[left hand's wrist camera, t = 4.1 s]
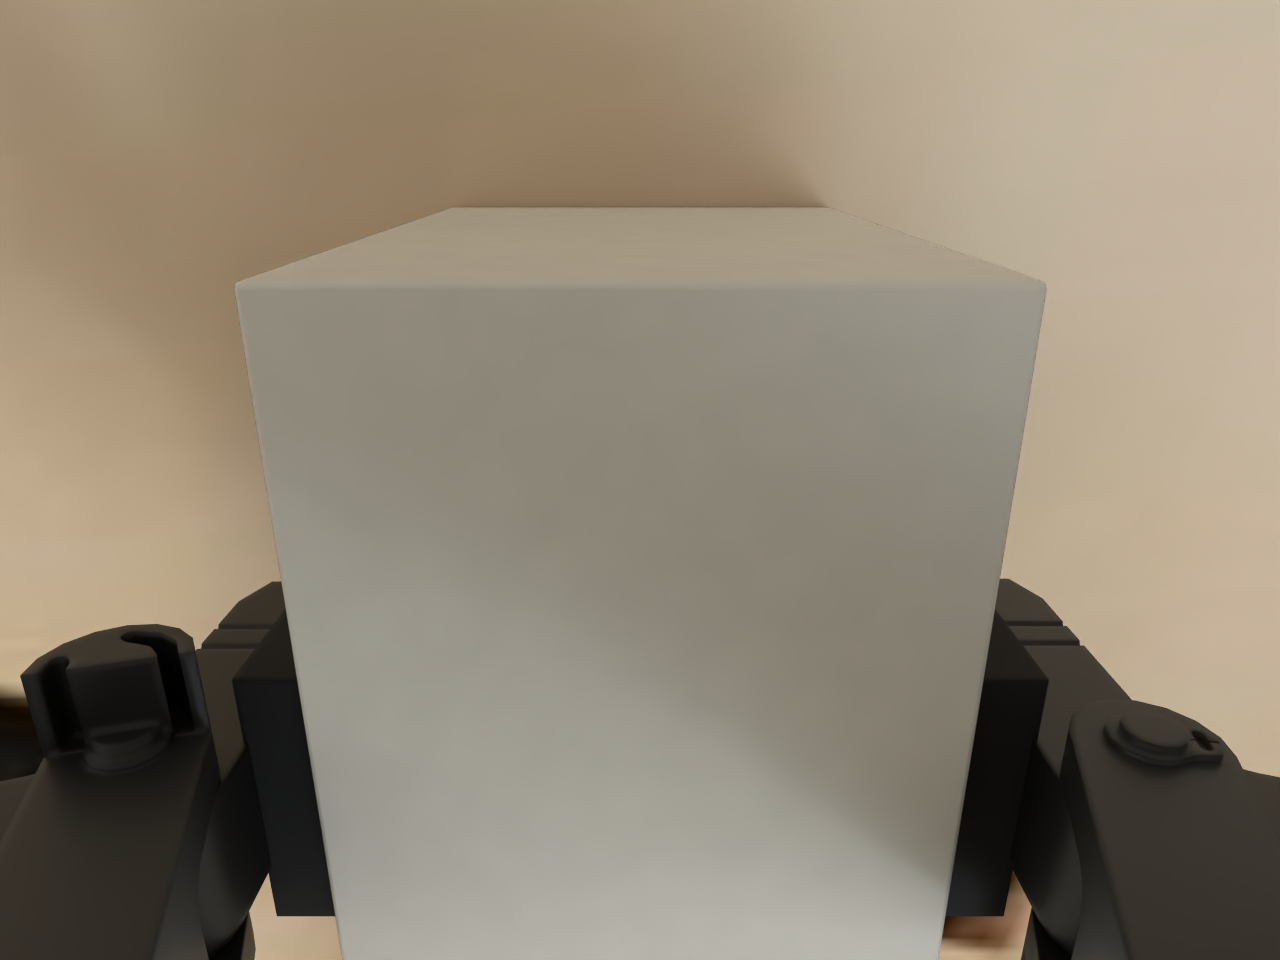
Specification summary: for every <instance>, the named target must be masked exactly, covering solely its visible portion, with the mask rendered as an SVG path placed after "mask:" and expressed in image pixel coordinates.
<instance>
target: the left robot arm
mask: <svg viewBox="0 0 1280 960" xmlns="http://www.w3.org/2000/svg"><path fill="white" fill-rule="evenodd" d="M1079 642H1080V641H1079V640H1078V638H1077V637H1076V636H1075V635H1074V634H1073V633H1072V632H1071V630H1070V629H1069V628H1068V627H1067V626H1063V621H1062V620H1061V619H1060V618H1059V617H1058V616H1057V615H1056V613H1055V612H1054V611H1053V610H1052V609H1051V608H1050V607H1049V605H1048V604H1047V603H1046V602H1045V601H1044V600H1043V599H1042V598H1041V597H1039V596H1037V595H1035V594H1034V593H1032V592H1030V591H1029V590H1027V589H1025V588H1023V587H1022V586H1020V585H1018V584H1017V583H1015V582H1013V581H1011V580H1010V579H1000V580H999V586H998V593H997V599H996V605H995V611H994V617H993V624H992V630H991V636H990V642H989V648H988V654H987V661H986V667H985V673H984V679H983V685H982V692H981V698H980V704H979V710H978V716H977V723H976V729H975V735H974V741H973V747H972V754H971V760H970V766H969V772H968V778H967V784H966V791H965V797H964V803H963V809H962V815H961V822H960V828H959V834H958V840H957V846H956V853H955V859H954V865H953V871H952V877H951V884H950V890H949V896H948V902H947V908H946V915H945V916H1004V911H1005V906H1006V901H1007V896H1008V891H1009V885H1010V880H1011V875H1012V870H1013V871H1014V873H1015V875H1016V876H1017V878H1018V880H1019V882H1020V884H1021V886H1022V888H1023V890H1024V892H1025V894H1026V896H1027V898H1028V900H1029V902H1030V904H1031V906H1032V909H1031V913H1030V918H1029V923H1028V928H1027V933H1026V938H1025V942H1024V947H1023V952H1022V957H1021V960H1280V777H1275V776H1270V775H1265V774H1260V773H1255V772H1251V771H1248V770H1244V769H1242V767H1241V765H1240V763H1239V761H1238V759H1237V757H1236V756H1235V754H1234V753H1233V752H1232V751H1231V750H1230V748H1229V747H1228V746H1227V745H1226V744H1225V742H1224V741H1223V740H1222V739H1221V738H1220V737H1219V736H1217V735H1216V734H1214V733H1213V732H1211V731H1210V730H1208V729H1207V728H1206V727H1204V726H1203V725H1201V724H1200V723H1198V722H1197V721H1195V720H1192V719H1190V718H1188V717H1185V716H1183V715H1181V714H1178V713H1176V712H1174V711H1171V710H1169V709H1167V708H1163V707H1159V706H1155V705H1151V704H1147V703H1143V702H1139V701H1133V700H1131V698H1130V697H1129V696H1128V695H1127V694H1126V693H1125V692H1124V691H1123V689H1122V688H1121V687H1120V686H1119V685H1118V684H1117V683H1116V681H1115V680H1114V679H1113V678H1112V677H1111V676H1110V675H1109V674H1108V672H1107V671H1106V670H1105V669H1104V668H1103V667H1102V666H1101V664H1100V663H1099V662H1098V661H1097V660H1096V659H1095V658H1094V657H1093V655H1092V654H1091V653H1090V652H1089V651H1088V650H1087V649H1086V647H1085V646H1080V643H1079ZM20 677H21V680H22V684H23V687H24V691H25V694H26V698H27V701H28V704H29V708H30V711H31V715H32V718H33V722H34V725H35V728H36V732H37V735H38V739H39V742H40V746H41V749H42V752H43V756H44V759H43V760H42V762H41V764H40V766H39V768H38V770H37V772H36V774H33V775H29V776H26V777H21V778H16V779H11V780H6V781H1V782H0V960H254V958H255V950H256V948H255V941H254V934H253V928H252V923H251V918H250V913H249V910H250V908H251V906H252V904H253V902H254V900H255V898H256V896H257V894H258V892H259V890H260V888H261V886H262V884H263V882H264V880H265V878H266V876H267V874H268V872H269V877H270V882H271V888H272V893H273V898H274V903H275V909H276V914H277V916H335V911H334V904H333V898H332V892H331V886H330V880H329V873H328V867H327V861H326V855H325V849H324V842H323V836H322V830H321V824H320V818H319V811H318V805H317V799H316V793H315V787H314V780H313V774H312V768H311V762H310V756H309V749H308V743H307V737H306V731H305V725H304V718H303V712H302V706H301V700H300V694H299V687H298V681H297V675H296V669H295V663H294V656H293V650H292V644H291V638H290V632H289V625H288V619H287V613H286V607H285V601H284V594H283V588H282V582H271V583H269V584H268V585H266V586H264V587H263V588H261V589H259V590H258V591H256V592H254V593H252V594H251V595H249V596H247V597H246V598H244V599H242V600H241V601H239V602H238V603H237V604H236V605H235V606H234V608H233V609H232V610H231V611H230V612H229V613H228V614H227V616H226V617H225V618H224V619H223V620H222V621H221V622H220V624H219V628H218V629H214V630H213V632H212V633H211V634H210V635H209V636H208V637H207V638H206V640H205V641H204V642H203V643H202V648H201V649H197V650H196V651H195V647H194V642H193V638H192V637H191V636H189V635H188V634H187V633H185V632H184V631H182V630H181V629H180V628H175V627H169V626H164V625H159V624H148V625H127V626H122V627H117V628H113V629H108V630H103V631H98V632H94V633H91V634H89V635H86V636H83V637H80V638H78V639H75V640H72V641H70V642H67V643H64V644H62V645H60V646H59V647H57V648H55V649H53V650H52V651H50V652H48V653H46V654H45V655H43V656H41V657H39V658H38V659H36V660H35V661H34V662H33V663H32V664H31V665H30V666H29V667H28V668H27V669H26V670H25V671H24V672H23V673H22V674H21V675H20Z"/></svg>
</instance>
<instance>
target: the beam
mask: <svg viewBox="0 0 1280 960" xmlns="http://www.w3.org/2000/svg"><path fill="white" fill-rule="evenodd" d="M234 290H235V297H236V303H237V309H238V315H239V321H240V328H241V334H242V340H243V346H244V353H245V359H246V365H247V371H248V377H249V384H250V390H251V396H252V402H253V408H254V415H255V421H256V427H257V433H258V439H259V446H260V452H261V458H262V464H263V470H264V477H265V483H266V489H267V495H268V501H269V508H270V514H271V520H272V526H273V532H274V539H275V545H276V551H277V557H278V563H279V570H280V576H281V582H282V588H283V594H284V601H285V607H286V613H287V619H288V625H289V632H290V638H291V644H292V650H293V656H294V663H295V669H296V675H297V681H298V687H299V694H300V700H301V706H302V712H303V718H304V725H305V731H306V737H307V743H308V749H309V756H310V762H311V768H312V774H313V780H314V787H315V793H316V799H317V805H318V811H319V818H320V824H321V830H322V836H323V842H324V849H325V855H326V861H327V867H328V873H329V880H330V886H331V892H332V898H333V904H334V911H335V917H336V923H337V929H338V935H339V942H340V948H341V954H342V960H938V958H939V952H940V945H941V939H942V933H943V927H944V921H945V915H946V908H947V902H948V896H949V890H950V884H951V877H952V871H953V865H954V859H955V853H956V846H957V840H958V834H959V828H960V822H961V815H962V809H963V803H964V797H965V791H966V784H967V778H968V772H969V766H970V760H971V754H972V747H973V741H974V735H975V729H976V723H977V716H978V710H979V704H980V698H981V692H982V685H983V679H984V673H985V667H986V661H987V654H988V648H989V642H990V636H991V630H992V624H993V617H994V611H995V605H996V599H997V593H998V586H999V580H1000V574H1001V568H1002V562H1003V555H1004V549H1005V543H1006V537H1007V531H1008V524H1009V518H1010V512H1011V506H1012V500H1013V493H1014V487H1015V481H1016V475H1017V469H1018V463H1019V456H1020V450H1021V444H1022V438H1023V432H1024V425H1025V419H1026V413H1027V407H1028V401H1029V394H1030V388H1031V382H1032V376H1033V370H1034V363H1035V357H1036V351H1037V345H1038V339H1039V333H1040V326H1041V320H1042V314H1043V308H1044V302H1045V295H1046V284H1045V282H1042V281H1040V280H1038V279H1035V278H1032V277H1029V276H1026V275H1023V274H1020V273H1017V272H1014V271H1012V270H1009V269H1006V268H1003V267H1000V266H997V265H994V264H991V263H988V262H985V261H982V260H979V259H977V258H974V257H971V256H968V255H965V254H962V253H959V252H956V251H953V250H950V249H947V248H945V247H942V246H939V245H936V244H933V243H930V242H927V241H924V240H921V239H918V238H915V237H913V236H910V235H907V234H904V233H901V232H898V231H895V230H892V229H889V228H886V227H883V226H881V225H878V224H875V223H872V222H869V221H866V220H863V219H860V218H857V217H854V216H851V215H849V214H846V213H843V212H840V211H837V210H834V209H831V208H828V207H452V208H449V209H446V210H444V211H441V212H438V213H435V214H432V215H429V216H426V217H423V218H420V219H417V220H415V221H412V222H409V223H406V224H403V225H400V226H397V227H394V228H391V229H388V230H385V231H383V232H380V233H377V234H374V235H371V236H368V237H365V238H362V239H359V240H356V241H354V242H351V243H348V244H345V245H342V246H339V247H336V248H333V249H330V250H327V251H324V252H322V253H319V254H316V255H313V256H310V257H307V258H304V259H301V260H298V261H295V262H293V263H290V264H287V265H284V266H281V267H278V268H275V269H272V270H269V271H266V272H264V273H261V274H258V275H255V276H252V277H249V278H246V279H243V280H241V281H238V282H236V284H235V289H234Z"/></svg>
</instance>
